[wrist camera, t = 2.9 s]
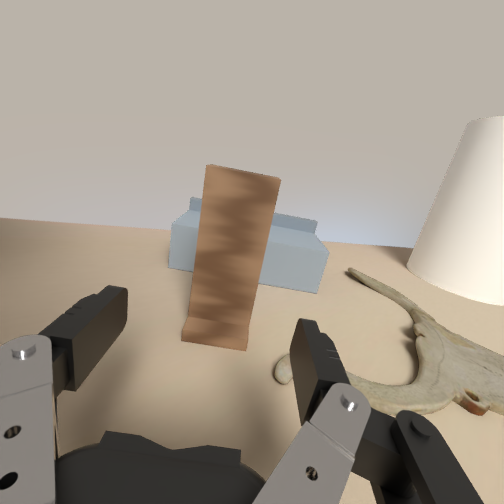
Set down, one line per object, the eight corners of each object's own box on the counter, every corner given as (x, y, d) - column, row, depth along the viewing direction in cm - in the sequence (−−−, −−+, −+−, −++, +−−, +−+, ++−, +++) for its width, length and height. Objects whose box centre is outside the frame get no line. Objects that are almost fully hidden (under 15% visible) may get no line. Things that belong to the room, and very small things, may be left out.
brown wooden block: (181, 340, 22) (201, 165, 17) (196, 303, 27) (214, 164, 22) (245, 351, 22) (283, 182, 17) (247, 311, 27) (276, 176, 23)
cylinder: (505, 315, 40) (630, 116, 30) (393, 268, 51) (457, 114, 42) (514, 293, 51) (606, 143, 42) (420, 259, 63) (476, 136, 53)
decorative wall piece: (579, 363, 32) (344, 274, 45) (595, 344, 31) (350, 259, 44) (1210, 986, 7) (267, 384, 20) (1396, 993, 6) (276, 353, 19)
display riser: (168, 267, 33) (173, 209, 31) (187, 243, 43) (192, 197, 40) (316, 293, 35) (333, 239, 32) (303, 264, 44) (315, 220, 41)
